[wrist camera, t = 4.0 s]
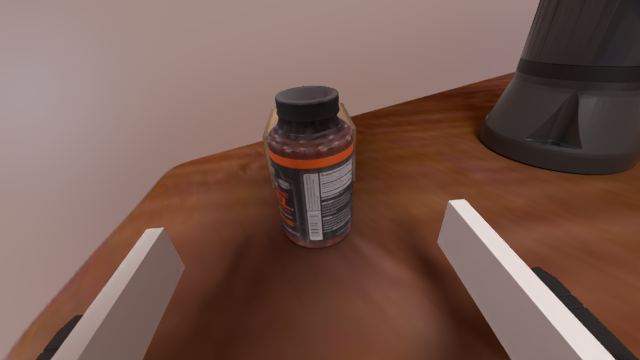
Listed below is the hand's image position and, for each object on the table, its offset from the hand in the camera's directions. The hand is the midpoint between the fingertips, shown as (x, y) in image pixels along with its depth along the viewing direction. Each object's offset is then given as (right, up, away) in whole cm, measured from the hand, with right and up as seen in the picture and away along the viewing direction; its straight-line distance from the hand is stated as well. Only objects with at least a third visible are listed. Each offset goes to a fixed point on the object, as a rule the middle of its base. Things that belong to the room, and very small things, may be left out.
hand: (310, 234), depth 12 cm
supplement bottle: (0, -2, +10) cm, 10 cm away
